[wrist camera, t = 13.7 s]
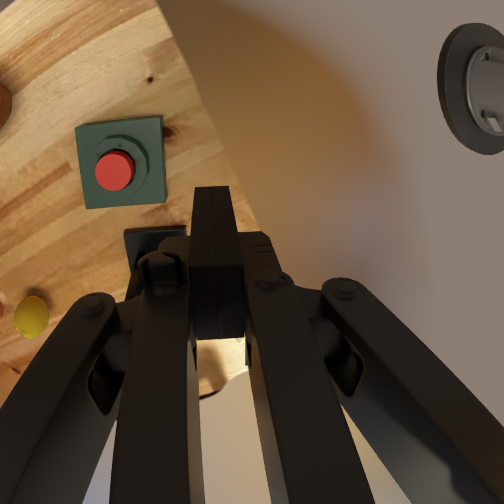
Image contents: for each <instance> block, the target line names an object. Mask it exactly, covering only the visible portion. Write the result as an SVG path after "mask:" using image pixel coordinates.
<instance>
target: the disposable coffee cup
mask: <svg viewBox="0 0 504 504" xmlns="http://www.w3.org/2000/svg"><path fill="white" fill-rule="evenodd" d="M11 107H12V100H11V95H10V92H9V91H8V89H7V88H6V87H5V86H4V85H2V84H0V128H1V127H2V126H3V125H4V124H5V123H6V121H7V120H8V118H9V115H10V112H11Z"/></svg>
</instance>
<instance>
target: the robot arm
mask: <svg viewBox="0 0 504 504" xmlns="http://www.w3.org/2000/svg"><path fill="white" fill-rule="evenodd" d="M463 95H464V100H465V104H466V107H467V110H468V113H469V115H470V117H471V119H472V120H473V122H474V123H475V125H476V126H477V127H478V128H479V129H481V130H482V131H484V132H486V133H489V134H491V135H496V136H504V50H503V49H501V48H498V47H495V46H479V47H477V48H476V49H474V50H473V51H472V52H471V54H470V55H469V57H468V59H467V61H466V64H465V67H464V72H463ZM137 267H138V272H139V277H140V282H141V286H142V292H141V295H140V296H138V297H136V298H133V299H130V300H127V301H123V302H119V303H115V299H114V298H113V297H112V296H111V295H110V294H106V293H103V292H95V293H90V294H87V295H85V296H83V297H81V298H79V299H78V300H77V301H76V302H75V303H74V304H73V305H72V307H71V308H70V309H69V310H68V312H67V313H66V314H65V316H64V317H63V318H62V320H61V321H60V322H59V324H58V325H57V326H56V328H55V329H54V330H53V332H52V333H51V334H50V336H49V337H48V338H47V340H46V341H45V343H44V344H43V345H42V347H41V348H40V350H39V351H38V352H37V354H36V355H35V357H34V358H33V360H32V361H31V363H30V364H29V365H28V367H27V368H26V370H25V371H24V373H23V374H22V376H21V377H20V379H19V380H18V382H17V383H16V385H15V387H14V388H13V390H12V391H11V393H10V394H9V396H8V398H7V399H6V401H5V402H4V404H3V406H2V407H1V409H0V504H82V503H83V500H84V497H85V494H86V492H87V489H88V487H89V484H90V482H91V479H92V476H93V474H94V471H95V468H96V466H97V464H98V461H99V459H100V456H101V454H102V451H103V449H104V446H105V444H106V441H107V439H108V437H109V434H110V432H111V429H112V427H113V425H114V422H115V420H116V418H117V415H118V419H117V427H116V434H115V443H114V451H113V461H112V471H111V483H110V497H109V504H205V494H204V481H203V467H202V451H201V432H200V411H199V380H198V350H197V343H196V338H197V340H211V339H228V338H242V337H244V332H245V366H247V365H248V369H249V375H250V381H251V388H252V393H253V400H254V406H255V412H256V418H257V424H258V430H259V436H260V441H261V447H262V453H263V459H264V464H265V470H266V476H267V481H268V487H269V492H270V498H271V503H272V504H375V501H374V498H373V495H372V492H371V489H370V486H369V483H368V480H367V478H366V475H365V472H364V469H363V466H362V463H361V460H360V458H359V455H358V452H357V449H356V446H355V443H354V440H353V438H352V435H351V432H350V430H349V427H348V424H347V421H346V418H345V416H344V413H343V410H342V408H341V405H342V406H343V407H344V409H345V411H346V412H347V413H348V415H349V416H350V418H351V419H352V421H353V422H354V423H355V425H356V426H357V427H358V429H359V430H360V432H361V433H362V435H363V436H364V437H365V439H366V440H367V442H368V443H369V444H370V446H371V447H372V449H373V450H374V451H375V453H376V454H377V456H378V457H379V459H380V460H381V461H382V463H383V464H384V466H385V467H386V468H387V469H388V471H389V472H390V474H391V475H392V477H393V478H394V480H395V481H396V482H397V484H398V485H399V486H400V488H401V489H402V491H403V492H404V493H405V495H406V496H407V498H408V499H409V500H410V502H411V503H412V504H504V427H503V426H502V425H501V424H500V423H499V422H498V420H497V419H496V418H495V417H494V416H493V415H492V414H491V413H490V412H489V411H488V409H486V407H485V406H484V405H483V404H482V403H481V402H480V401H479V400H478V399H477V398H476V397H475V395H473V393H472V392H471V391H470V390H469V389H468V388H467V387H466V386H465V385H464V384H463V383H462V382H461V381H460V380H459V379H458V378H457V377H456V376H455V375H454V373H453V372H452V371H451V370H450V369H449V368H448V367H447V366H446V365H445V364H444V363H443V362H442V361H441V360H440V359H439V358H438V357H437V356H436V355H435V354H434V353H433V352H432V351H431V350H430V349H429V348H428V347H427V346H426V345H425V344H424V343H423V342H422V341H421V340H420V339H419V338H418V337H417V336H416V335H415V334H414V333H413V332H412V331H411V330H410V329H409V328H408V327H407V326H405V324H403V323H402V322H401V321H400V320H399V319H398V318H397V317H396V316H395V315H394V314H393V313H392V312H391V311H390V310H389V309H388V308H387V307H386V306H385V305H384V304H383V303H382V302H380V301H379V300H378V299H377V298H376V297H375V296H374V295H373V294H372V293H371V292H370V291H369V290H368V289H367V288H366V287H365V286H363V285H362V284H360V283H359V282H357V281H355V280H352V279H349V278H341V277H340V278H332V279H330V280H327V281H326V282H325V283H324V284H323V285H322V289H321V290H313V289H307V288H302V287H299V286H296V285H294V282H293V280H292V279H291V277H290V276H289V275H287V274H286V273H284V272H282V269H281V267H280V264H279V261H278V259H277V256H276V253H275V252H274V248H273V247H272V243H271V240H270V238H269V237H268V236H267V235H266V234H264V233H263V232H262V231H255V232H238V231H237V226H236V221H235V216H234V211H233V206H232V201H231V196H230V191H229V186H211V187H195V191H194V201H193V211H192V222H191V233H190V236H177V237H166V238H165V239H164V240H163V241H162V242H161V243H160V244H159V248H158V251H154V252H151V253H148V254H146V255H145V256H143V257H142V258H140V260H139V261H138V263H137ZM340 404H341V405H340Z"/></svg>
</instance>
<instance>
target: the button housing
mask: <svg viewBox="0 0 504 504" xmlns="http://www.w3.org/2000/svg"><path fill="white" fill-rule="evenodd" d="M75 132H76V142H77V151H78V159H79V166H80V173H81V180H82V186H83V193H84V198H85V204H86V209H95V208H105V207H116V206H128V205H140V204H154V203H166V199H167V185H166V171H165V156H164V137H163V116H162V115H157V116H146V117H137V118H128V119H119V120H112V121H104V122H98V123H91V124H85V125H81V126H78V127H76V128H75ZM111 151H122V152H124V153H126V154H128V155H129V156H130V158H131V159H132V161H133V164H134V173H133V176H132V178H131V179H130V181H129V182H128V184H127V185H126V186H125V187H124V188H122V189H120V190H117V191H110V190H107V189H105V188H103V187H102V186H101V185H100V184H99V183H98V181H97V179H96V175H95V169H96V165H97V163H98V162H99V160H100V159H101V158H102V157H103V156H105V155H106V154H107V153H109V152H111Z"/></svg>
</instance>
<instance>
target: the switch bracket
mask: <svg viewBox="0 0 504 504" xmlns="http://www.w3.org/2000/svg"><path fill="white" fill-rule="evenodd" d="M123 234H124V240H125V246H126V251H127V256H128V261H129V266H130V271H131V278H130V282H129V285H128V289H127V293H126V297H125V301H127V300H130V299H133V298H136V297H138V296H140V295H141V292H142V286H141V282H140V277H139V272H138V267H137V263H138V261H139V260H140V258H142V257H143V256H145V255H146V254H148V253H151V252H154V251H158V248H159V244H160V243H161V242H162V241H163V240H164V239H165V238H166V237H177V236H187V234H186V225H183V226H167V227H152V228H137V229H125V231H124V233H123Z"/></svg>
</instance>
